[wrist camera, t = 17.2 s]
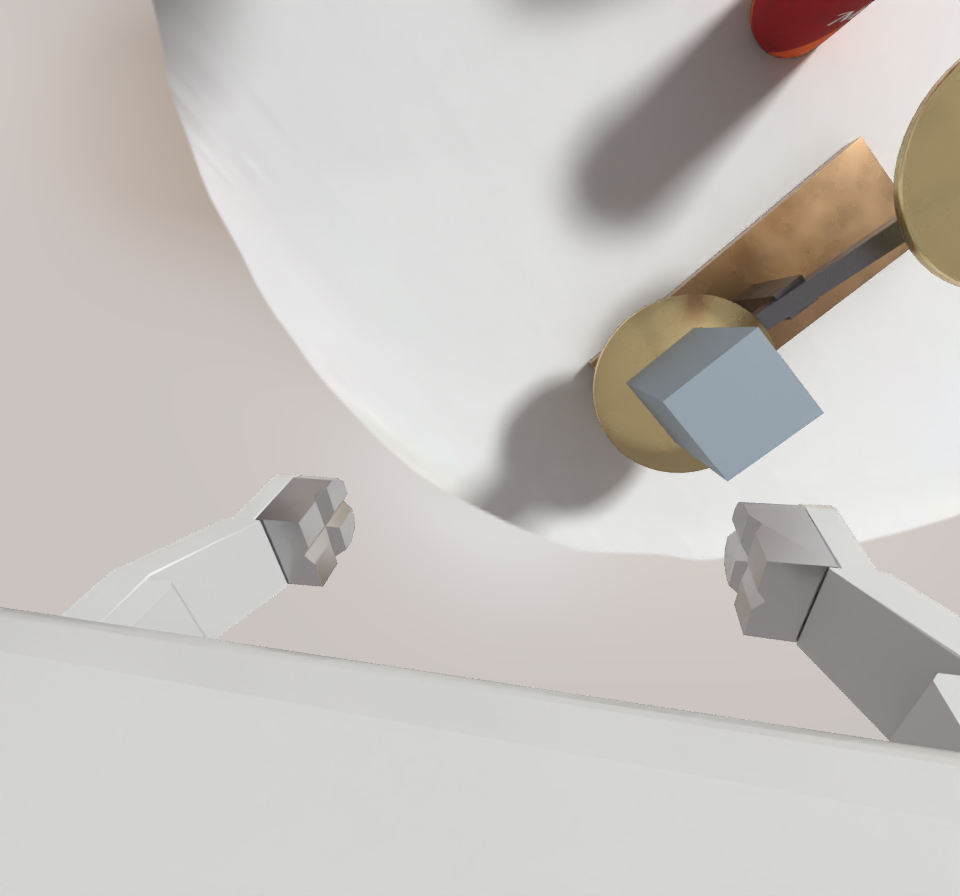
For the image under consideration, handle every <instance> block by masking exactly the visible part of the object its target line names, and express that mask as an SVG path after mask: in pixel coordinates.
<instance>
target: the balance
mask: <svg viewBox="0 0 960 896" xmlns="http://www.w3.org/2000/svg"><path fill="white" fill-rule="evenodd" d="M909 249H910V251H911V252H912V253H913V255H914V256H915V257H916V258H917V260H918V261H919V262H920V263H921V264H922V265H923V266H924V267H925V268H927V269H928V270H929V271H930V272H931V273H933V274H934V275H936V276H937V277H939V278H941V279H942V280H944V281H946V282H948V283H951V284H953V285H955V286H958V287H960V59H959V60H958V61H957V62H955V63H954V64H953V65H952V66H951V67H950V68H949V69H948V70H947V71H946V72H945V73H944V74H943V76H942V77H941V78H940V79H939V80H938V81H937V82H936V83H935V85H934V86H933V87H932V88H931V90H930V91H929V93H928V94H927V95H926V97H925V98H924V100H923V101H922V102H921V104H920V106H919V108H918V109H917V111H916V113H915V115H914V116H913V118H912V120H911V122H910V124H909V126H908V129H907V131H906V133H905V136H904V138H903V141H902V144H901V147H900V151H899V154H898V157H897V163H896V168H895V173H894V184H893V182H892V181H891V179H890V178H889V177H888V175H887V174H886V172H885V171H884V169H883V168H882V166H881V165H880V163H879V162H878V160H877V159H876V158H875V156H874V155H873V153H872V152H871V150H870V149H869V147H868V146H867V144H866V143H865V141H864V140H863V139H862V137H859V138H858V139H856V140H854V141H852V142H851V143H849V144H847V145H846V146H844V147H843V148H842V149H841V150H840V151H838V152H837V153H836V154H835V155H834V156H832V157H831V158H830V159H829V160H828V161H826V162H825V163H824V164H823V165H822V166H821V167H819V168H818V169H817V170H816V171H815V172H813V173H812V174H811V175H810V176H809V177H807V178H806V179H805V180H804V181H803V182H802V183H800V184H799V185H798V186H797V187H796V188H794V189H793V190H792V191H791V192H790V193H788V194H787V195H786V196H785V197H784V198H783V199H781V200H780V201H779V202H778V203H777V204H775V205H774V206H773V207H772V208H771V209H769V210H768V211H767V212H766V213H765V214H763V215H762V216H761V217H760V218H759V219H758V220H756V221H755V222H754V223H753V224H752V225H750V226H749V227H748V228H747V229H746V230H744V231H743V232H742V233H741V234H740V235H739V236H737V237H736V238H735V239H734V240H733V241H731V242H730V243H729V244H728V245H727V246H725V247H724V248H723V249H722V250H721V251H720V252H718V253H717V254H716V255H715V256H714V257H712V258H711V259H710V260H709V261H708V262H706V263H705V264H704V265H703V266H702V267H700V268H699V269H698V270H697V271H696V272H695V273H693V274H692V275H691V276H690V277H689V278H687V279H686V280H685V281H684V282H683V283H681V284H680V285H679V286H678V287H677V288H676V289H674V290H673V291H672V292H671V293H670V294H668V295H667V296H666V297H665V298H664V299H662V300H659V301H656V302H654V303H652V304H649V305H647V306H645V307H644V308H642V309H640V310H638V311H637V312H635V313H634V314H633V315H631V316H630V317H629V318H627V319H626V320H625V321H624V322H623V323H622V324H621V325H620V326H619V327H618V328H617V329H616V330H615V332H614V333H613V334H612V335H611V336H610V338H609V339H608V341H607V343H606V344H605V346H604V348H603V350H602V351H601V352H599V353H598V354H597V355H596V356H595V357H594V358H592V359H591V360H590V361H589V364H590V365H591V366H592V367H593V368H594V370H595V373H594V378H593V402H594V407H595V411H596V415H597V417H598V420H599V423H600V425H601V427H602V428H603V430H604V432H605V434H606V435H607V436H608V438H609V439H610V440H611V442H612V443H613V444H614V445H615V446H616V447H617V448H618V449H619V450H620V451H621V452H622V453H623V454H625V455H626V456H627V457H628V458H630V459H632V460H633V461H635V462H637V463H638V464H641V465H643V466H645V467H648V468H651V469H655V470H658V471H664V472H671V473H685V472H694V471H699V470H703V469H707V468H709V467H708V466H706V465H705V464H704V463H702V462H701V461H700V460H698V459H697V458H696V457H694V456H693V455H691V454H690V453H689V452H687V451H686V450H685V449H683V448H682V447H681V446H679V445H678V444H677V443H675V442H674V440H673V439H672V438H671V437H670V436H669V434H668V433H667V432H666V431H665V430H664V428H663V427H662V426H661V425H660V423H659V422H658V421H657V420H656V419H655V417H654V416H653V415H652V414H651V413H650V411H649V410H648V409H647V408H646V407H645V405H644V404H643V403H642V402H641V400H640V399H639V398H638V397H637V396H636V394H635V393H634V392H633V391H632V390H631V388H630V387H629V386H628V385H627V384H626V382H628V381H629V380H630V379H631V378H632V377H634V376H635V375H636V374H637V373H639V372H640V371H641V370H642V369H644V368H645V367H646V366H647V365H649V364H650V363H651V362H652V361H653V360H655V359H656V358H657V357H658V356H660V355H661V354H662V353H663V352H665V351H666V350H667V349H668V348H669V347H671V346H672V345H673V344H674V343H676V342H677V341H678V340H679V339H681V338H682V337H683V336H684V335H685V334H687V333H688V332H689V331H690V330H692V329H693V328H708V327H759V329H760V330H761V331H762V333H763V334H764V335H765V337H766V338H767V339H768V340H769V342H770V343H771V344H772V346H773V347H774V348H775V350H777V349H779V348H780V347H781V346H783V345H784V344H785V343H787V342H788V341H789V340H791V339H792V338H793V337H794V336H796V335H797V334H798V333H800V332H801V331H802V330H804V329H805V328H806V327H808V326H809V325H810V324H812V323H813V322H814V321H815V320H817V319H818V318H819V317H821V316H822V315H823V314H825V313H826V312H827V311H829V310H830V309H831V308H833V307H834V306H835V305H836V304H838V303H839V302H840V301H842V300H843V299H844V298H846V297H847V296H848V295H850V294H851V293H852V292H854V291H855V290H856V289H857V288H859V287H860V286H861V285H863V284H864V283H865V282H867V281H868V280H869V279H871V278H872V277H873V276H874V275H876V274H877V273H878V272H880V271H881V270H882V269H884V268H885V267H886V266H888V265H889V264H890V263H892V262H893V261H894V260H895V259H897V258H898V257H899V256H901V255H902V254H903V253H905V252H906V251H907V250H909Z"/></svg>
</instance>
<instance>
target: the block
mask: <svg viewBox="0 0 960 896" xmlns="http://www.w3.org/2000/svg"><path fill="white" fill-rule="evenodd" d="M626 384H627V385H628V386H629V387H630V388H631V390H632V391H633V392H634V393H635V394H636V396H637V397H638V398H639V399H640V400H641V402H642V403H643V404H644V405H645V407H646V408H647V409H648V410H649V411H650V413H651V414H652V415H653V416H654V417H655V419H656V420H657V421H658V422H659V423H660V425H661V426H662V427H663V428H664V430H665V431H666V432H667V433H668V434H669V436H670V437H671V438H672V439H673V440H674V442H675V443H677V444H678V445H679V446H681V447H682V448H683V449H685V450H686V451H687V452H689V453H690V454H691V455H693V456H694V457H696V458H697V459H698V460H700V461H701V462H702V463H704V464H705V465H706V466H708V467H709V468H710V469H712V470H713V471H714V472H716V473H717V474H718V475H720V476H721V477H723V478H724V479H725V480H727V481H729V480H730V479H732V478H733V477H735V476H736V475H737V474H739V473H740V472H742V471H743V470H744V469H746V468H747V467H749V466H750V465H751V464H753V463H754V462H756V461H757V460H758V459H760V458H761V457H763V456H764V455H765V454H767V453H768V452H770V451H771V450H772V449H774V448H775V447H777V446H778V445H780V444H781V443H782V442H784V441H785V440H787V439H788V438H789V437H791V436H792V435H794V434H795V433H796V432H798V431H799V430H801V429H802V428H803V427H805V426H806V425H808V424H809V423H810V422H812V421H813V420H815V419H816V418H817V417H819V416H820V415H822V414H823V413H824V412H823V411H822V410H821V408H820V407H819V406H818V405H817V403H816V402H815V401H814V399H813V398H812V397H811V395H810V394H809V393H808V391H807V390H806V389H805V388H804V386H803V385H802V384H801V382H800V381H799V380H798V378H797V377H796V376H795V374H794V373H793V372H792V371H791V369H790V368H789V367H788V365H787V364H786V363H785V361H784V360H783V359H782V357H781V356H780V355H779V354H778V352H777V351H776V350H775V348H774V347H773V346H772V344H771V343H770V342H769V340H768V339H767V338H766V337H765V335H764V334H763V333H762V331H761V330H760V329H759V327H708V328H693V329H692V330H690V331H689V332H688V333H687V334H685V335H684V336H683V337H682V338H681V339H679V340H678V341H677V342H676V343H674V344H673V345H672V346H671V347H669V348H668V349H667V350H666V351H665V352H663V353H662V354H661V355H660V356H658V357H657V358H656V359H655V360H653V361H652V362H651V363H650V364H649V365H647V366H646V367H645V368H644V369H642V370H641V371H640V372H639V373H637V374H636V375H635V376H634V377H632V378H631V379H630V380H629V381H628V382H626Z"/></svg>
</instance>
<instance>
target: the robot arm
mask: <svg viewBox="0 0 960 896" xmlns="http://www.w3.org/2000/svg"><path fill="white" fill-rule="evenodd" d="M346 495H347V491H346V488H345V485H344V482H343V481H341V480H340V479H338V478H327V477H315V476H302V475H299V476H298V475H287V474H280V475H276V476H274V477H273V478H272V479H271V480H270V481H269V482H268V483H267V484H266V485H265V486H264V487H263V488H262V489H261V490H260V491H259V492H258V493H257V494H256V495H255V496H254V497H253V498H252V499H251V500H250V501H249V502H248V503H247V504H246V505H245V506H244V507H243V508H242V509H241V510H240V511H239V512H238V513H237V514H236V515H235V516H234V517H233V518H225V519H222V520H220V521H218V522H216V523H214V524H212V525H210V526H207V527H205V528H203V529H201V530H199V531H196V532H195V533H192V534H190V535H188V536H186V537H184V538H181V539H179V540H177V541H175V542H173V543H171V544H168V545H166V546H164V547H162V548H160V549H158V550H156V551H153V552H151V553H149V554H147V555H145V556H143V557H141V558H138V559H136V560H134V561H132V562H130V563H128V564H125V565H123V566H121V567H119V568H117V569H115V570H112V571H111V572H110V573H109V574H108V575H107V576H105V577H104V578H103V579H102V580H101V581H99V582H98V583H97V584H96V585H95V586H94V587H93V588H92V589H91V590H89V591H88V592H87V593H86V594H85V595H84V596H82V597H81V598H80V599H79V600H78V601H77V602H76V603H74V604H73V605H72V606H71V607H70V608H69V609H68V610H66V611H65V612H64V613H63V614H62V615H61V616H56V615H50V614H42V613H36V612H29V611H23V610H16V609H9V608H3V607H0V896H960V616H958V615H957V614H955V613H953V612H952V611H950V610H948V609H947V608H945V607H943V606H942V605H940V604H939V603H937V602H935V601H934V600H932V599H931V598H929V597H927V596H926V595H924V594H922V593H921V592H919V591H918V590H916V589H914V588H913V587H911V586H909V585H908V584H906V583H905V582H903V581H901V580H900V579H898V578H896V577H895V576H893V575H891V574H890V573H887V572H878V571H877V570H876V568H875V566H874V565H873V563H872V562H871V560H870V559H869V557H868V556H867V554H866V553H865V551H864V550H863V548H862V547H861V545H860V544H859V542H858V541H857V539H856V538H855V536H854V535H853V533H852V532H851V530H850V528H849V527H848V525H847V524H846V522H845V521H844V519H843V518H842V516H841V515H840V513H839V512H838V510H837V509H836V508H834V507H832V506H831V505H803V504H799V505H784V504H766V503H747V502H738V504H737V506H736V507H735V510H734V514H733V518H732V520H733V523H734V526H735V529H736V531H735V532H733V533H732V534H730V535H729V536H728V537H727V542H726V547H725V560H724V561H725V562H724V565H725V571H726V577H727V581H728V584H729V586H730V587H731V588H733V589H734V590H735V591H736V592H737V593H738V594H737V597H736V600H735V604H734V605H735V608H736V612H737V615H738V618H739V621H740V625H741V628H742V631H743V635H748V636H755V637H762V638H769V639H776V640H784V641H791V642H798V643H797V645H798V646H799V648H800V649H801V650H802V651H803V652H804V653H805V654H806V655H807V656H808V657H809V658H810V659H811V660H812V661H813V662H814V663H815V664H816V665H817V666H818V667H819V668H820V669H821V670H822V671H823V672H824V673H825V674H826V675H827V676H828V677H829V679H830V680H831V681H832V682H833V683H834V684H835V685H836V686H837V687H838V688H839V689H840V690H841V691H842V692H843V693H844V694H845V695H846V696H847V697H848V698H849V699H850V700H851V701H852V702H853V703H854V704H855V705H856V706H857V708H858V709H859V710H861V712H862V713H863V714H864V715H865V716H866V717H867V718H868V719H869V720H870V721H871V722H872V723H873V724H874V725H875V726H876V727H877V728H878V729H879V730H880V731H881V732H882V733H883V734H884V735H885V736H886V737H887V739H888V740H889V741H882V740H876V739H869V738H863V737H856V736H849V735H843V734H836V733H830V732H823V731H817V730H810V729H804V728H797V727H790V726H784V725H777V724H770V723H763V722H757V721H751V720H744V719H738V718H731V717H724V716H717V715H711V714H705V713H698V712H691V711H685V710H678V709H672V708H665V707H658V706H652V705H645V704H638V703H632V702H625V701H619V700H612V699H605V698H599V697H591V696H585V695H579V694H572V693H565V692H559V691H552V690H545V689H539V688H532V687H525V686H519V685H512V684H506V683H499V682H493V681H486V680H480V679H473V678H466V677H459V676H453V675H447V674H440V673H433V672H426V671H420V670H413V669H407V668H400V667H394V666H386V665H380V664H373V663H367V662H361V661H354V660H348V659H341V658H334V657H327V656H321V655H314V654H308V653H301V652H294V651H288V650H281V649H274V648H268V647H261V646H254V645H248V644H241V643H235V642H228V641H222V640H216V639H217V638H218V637H220V636H221V635H222V634H224V633H225V632H226V631H228V630H229V629H230V628H232V627H233V626H234V625H236V624H237V623H238V622H240V621H241V620H242V619H244V618H245V617H246V616H248V615H249V614H250V613H252V612H253V611H254V610H256V609H257V608H258V607H260V606H261V605H263V604H264V603H265V602H267V601H268V600H269V599H271V598H272V597H273V596H275V595H276V594H277V593H279V592H280V591H281V590H283V589H284V588H285V587H287V586H288V584H299V585H311V586H324V584H325V583H326V581H327V579H328V578H329V576H330V575H331V573H332V571H333V570H334V568H335V567H336V565H337V560H336V555H338V554H340V553H341V552H343V551H344V550H346V549H347V547H348V546H349V544H350V542H351V541H352V537H353V533H354V529H355V519H354V514H353V510H352V508H351V507H350V506H348V505H347V504H346V503H345V502H344V499H345V497H346Z"/></svg>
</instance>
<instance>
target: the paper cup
mask: <svg viewBox="0 0 960 896" xmlns="http://www.w3.org/2000/svg"><path fill="white" fill-rule="evenodd" d="M873 1H874V0H753V3H752V7H751V18H750V19H751V28H752V32H753V35H754V37H755V39H756V41H757V43H758V44H759V45H760V46H761V48H762V49H763V50H765V51H766V52H767V53H769V54H771V55H773V56H776V57H780V58H793V57H798V56H801V55H803V54H806V53H808V52H809V51H811V50H813V49H814V48H816V47H817V46H819V45H820V44H821V43H823V42H824V41H825V40H827V39H828V38H829V37H830V36H832V35H833V34H834V33H835V32H837V31H838V30H839V29H840V28H841V27H843V26H844V25H845V24H846V23H848V22H849V21H850V20H851V19H852V18H854V17H855V16H856V15H857V14H858V13H860V12H861V11H862V10H863V9H865V8H866V7H867V6H868V5H869V4H871V3H872V2H873Z"/></svg>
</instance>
